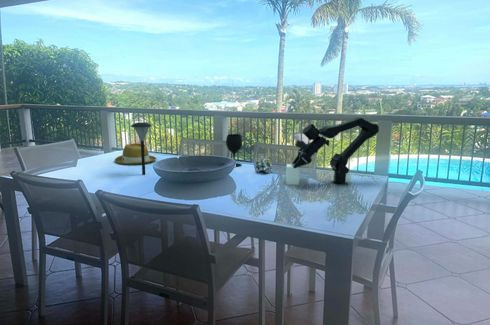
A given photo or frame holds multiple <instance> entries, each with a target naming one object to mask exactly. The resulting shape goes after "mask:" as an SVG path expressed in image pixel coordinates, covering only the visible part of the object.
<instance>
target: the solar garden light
mask: <svg viewBox="0 0 490 325" xmlns="http://www.w3.org/2000/svg"><path fill="white" fill-rule="evenodd" d="M130 127H131V128H134V131H135V132H136V134H137V136H138V138H139V140H140V143H141V158H142V164H141V174H142V176H146V164H145V155H144V144H145V139H146V136H147V134H148V132H149V128H152V127H153V125H152V124H150V123H148V122H144V121H143V122H142V121H141V122H134V123H133V124H132V125H130Z"/></svg>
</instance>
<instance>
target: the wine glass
mask: <svg viewBox="0 0 490 325" xmlns="http://www.w3.org/2000/svg"><path fill="white" fill-rule="evenodd" d="M225 143H226V144H225V145H226V148H227V149H228V150H229V152H230V153H231V154H232V156H233V159H234V160H235V161H236V158H235V157H236V154H237V153H238V152H239V151H240V150H241V149H242V145H243V138H242V134H237V133H231V134H227V135H226V138H225ZM233 159H232V160H233ZM235 163H236V167H235V168H239V167H242V163H238V162H235Z"/></svg>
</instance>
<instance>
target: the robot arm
mask: <svg viewBox="0 0 490 325" xmlns="http://www.w3.org/2000/svg"><path fill="white" fill-rule="evenodd" d="M356 127H359V128H360V132H359V134H358V135H357V136H356V137H355V138H354V139H353V141H351V143H350V144H348V146H347V147H346V148H345V149H344V150H343V151H342V152H341V153H337V152H336V153H335V154H334V155H333V156H332V157H331V158H330V160H329V165H330V167H331V169H332V171H334V172H333V180H331V183H332V184H333V183H334V184H335V185H347V184H348V181H346V178H347V174H349V172H350V168H348V167H347V165H348V163H349V159H351V157H352V156H353V155H354V154H355V153H356V152H357V150H359V148H361V147H362V146H363V144H364V143H365V142H366V141H367V140H369V139H371V138H373V137H375V136H376V135H377V134H378V133H379V131H380V130H379V128H380V127H379V125H378V124H376V123H372V122H370V121H368V120H366V119H364V118H362V117H357V116H356V117H355V118H353V119H350V120H347V121H344V122H342V123H338V124H334V125H332V124H331V125H325V126H323V127H322V128H317V127H316V125H314V123H310V124H309V125H307V126H305V127H304V128H303V129H302V132H301V133H303V135H304V136H305V137H306V138H307V139H308V140H309V141H311V142H307V143H306V142H305V141H304V140H300V139H297V140H296V142H295V143H294V146H295V147H297V148H298V150H297V155H296V157H295V159H294V160H293V162H292V163H291V164H295V165H294V166H293V168H297V167H303V166H306V165H310V164H311V163H312V161H313V160H312V157H313V156H314V155H315V154H317V153H318V151H319V150H320V149H321V148H323V147H324V146H325V145H326V146H328V147H329V146H330V140H329V139H333V138H335V137H336V136H338V135H339V134H341V133H343V132H345V131H349V130H351V129H353V128H356ZM320 135H321V136H320ZM326 138H327V139H326Z"/></svg>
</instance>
